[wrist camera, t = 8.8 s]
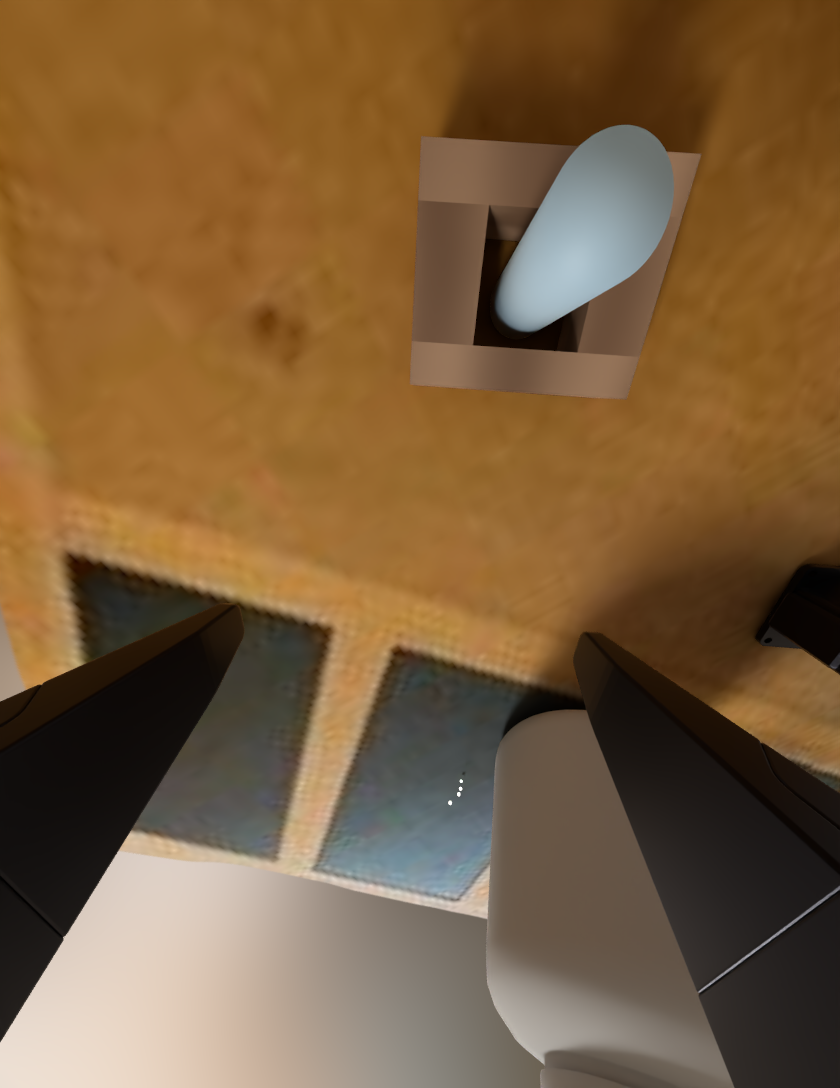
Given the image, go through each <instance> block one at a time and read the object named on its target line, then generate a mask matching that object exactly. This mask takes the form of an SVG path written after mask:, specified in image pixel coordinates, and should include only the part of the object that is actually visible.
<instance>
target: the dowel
mask: <svg viewBox="0 0 840 1088" xmlns="http://www.w3.org/2000/svg"><path fill="white" fill-rule="evenodd" d="M673 197H674V178H673V171H672V165H671V162H670V159H669V156H668V154H667V152H666V150H665V148H664V146H663V145H662V144H661V142H660V141H659V140H658V139H657V138H656V137H655V136H654V135H653V134H652V133H650V132H649V131H647V130H645V129H643V128H640V127H638V126H633V125H617V126H613V127H609V128H606V129H604V130H601V131H599V132H598V133H596V134H594V135H592V136H591V137H590V138H588V139H587V140H586V141H584V142H583V143H582V144H581V145H580V146H579V147H578V148H577V149H576V150H575V151H574V152H573V153H572V155H571V156H570V157H569V158H568V160H567V161H566V163H565V164H564V166H563V167H562V169H561V170H560V172H559V174H558V176H557V177H556V179H555V181H554V183H553V185H552V186H551V188H550V190H549V192H548V193H547V195H546V197H545V199H544V200H543V202H542V204H541V206H540V207H539V209H538V211H537V213H536V214H535V216H534V218H533V220H532V221H531V223H530V225H529V227H528V228H527V230H526V232H525V234H524V235H523V237H522V239H521V241H520V242H519V244H518V246H517V248H516V249H515V251H514V253H513V255H512V256H511V258H510V260H509V262H508V264H507V265H506V267H505V269H504V271H503V272H502V274H501V276H500V278H499V279H498V281H497V283H496V285H495V286H494V289H493V291H492V294H491V298H490V316H491V320H492V322H493V324H494V326H495V328H496V329H497V330H498V331H499V332H500V333H501V334H502V335H503V336H505V337H507V338H511V339H522V338H525V337H528V336H530V335H532V334H533V333H535V332H537V331H539V330H540V329H542V328H544V327H545V326H547V325H549V324H551V323H552V322H554V321H556V320H557V319H559V318H561V317H562V316H564V315H566V314H568V313H569V312H571V311H573V310H574V309H576V308H578V307H580V306H581V305H583V304H585V303H586V302H588V301H590V300H592V299H593V298H595V297H597V296H598V295H600V294H602V293H603V292H605V291H607V290H609V289H610V288H612V287H614V286H615V285H617V284H619V283H621V282H622V281H624V280H625V279H627V278H629V277H630V276H631V275H632V274H634V273H635V272H636V271H637V270H638V269H639V268H640V267H641V266H642V265H643V264H644V263H645V262H646V261H647V260H648V258H649V257H650V256H651V254H652V253H653V252H654V250H655V249H656V247H657V245H658V243H659V242H660V240H661V238H662V236H663V234H664V231H665V229H666V226H667V223H668V221H669V217H670V213H671V209H672V204H673Z"/></svg>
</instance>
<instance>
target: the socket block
mask: <svg viewBox="0 0 840 1088" xmlns="http://www.w3.org/2000/svg"><path fill="white" fill-rule="evenodd" d="M578 147H579V146H567V145H551V144H535V143H519V142H503V141H487V140H471V139H455V138H439V137H423V136H421V153H420V175H419V197H418V219H417V240H416V262H415V284H414V306H413V327H412V349H411V371H410V384H412V385H419V386H433V387H447V388H461V389H475V390H489V391H503V392H517V393H531V394H546V395H560V396H574V397H588V398H605V399H627V396H628V393H629V390H630V386H631V383H632V380H633V376H634V373H635V370H636V367H637V363H638V360H639V357H640V354H641V350H642V347H643V344H644V340H645V337H646V334H647V331H648V327H649V324H650V321H651V318H652V314H653V311H654V308H655V304H656V301H657V298H658V295H659V291H660V288H661V285H662V282H663V278H664V275H665V272H666V269H667V265H668V262H669V259H670V255H671V252H672V249H673V246H674V242H675V239H676V236H677V233H678V229H679V226H680V223H681V219H682V216H683V213H684V210H685V206H686V203H687V200H688V197H689V193H690V190H691V187H692V184H693V180H694V177H695V174H696V170H697V167H698V164H699V161H700V157H701V154H695V153H679V152H667V154H668V156H669V159H670V162H671V165H672V171H673V178H674V197H673V204H672V209H671V213H670V217H669V221H668V223H667V226H666V229H665V231H664V234H663V236H662V238H661V240H660V242H659V243H658V245H657V247H656V249H655V250H654V252H653V253H652V254H651V256H650V257H649V258H648V260H647V261H646V262H645V263H644V264H643V265H642V266H641V267H640V268H639V269H638V270H637V271H636V272H635V273H634V274H632V275H631V276H630V277H629V278H627V279H625V280H624V281H622V282H621V283H619V284H617V285H615V286H614V287H612V288H610V289H609V290H607V291H605V292H603V293H602V294H600V295H598V296H597V297H595V298H593V299H592V300H590V301H588V302H586V303H585V304H583V305H581V306H580V307H578V308H576V309H574V310H573V311H571V312H569V313H568V314H566V315H564V318H563V323H562V328H561V332H560V337H559V342H558V347H557V351H546V350H532V349H517V348H503V347H489V346H474V345H473V341H474V332H475V323H476V315H477V306H478V297H479V289H480V280H481V271H482V262H483V254H484V245H485V239H495V240H511V241H521V239H522V237H523V235H524V234H525V232H526V230H527V228H528V227H529V225H530V223H531V221H532V220H533V218H534V216H535V214H536V213H537V211H538V209H539V207H540V206H541V204H542V202H543V200H544V199H545V197H546V195H547V193H548V192H549V190H550V188H551V186H552V185H553V183H554V181H555V179H556V177H557V176H558V174H559V172H560V170H561V169H562V167H563V166H564V164H565V163H566V161H567V160H568V158H569V157H570V156H571V155H572V153H573V152H574V151H575V150H576V149H577V148H578Z"/></svg>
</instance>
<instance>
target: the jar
mask: <svg viewBox="0 0 840 1088" xmlns="http://www.w3.org/2000/svg"><path fill="white" fill-rule="evenodd" d="M462 782H463V781H462V780H460V783H462ZM459 790H460V791H461V790H462V787H459ZM457 795H458V796H460V793H459V792H458V793H457ZM451 804H452V802H451V801H449V805H451ZM486 964H487V984H488V987H489V990H490V993H491V996H492V999H493V1002H494V1006H495V1007H496V1009H497V1011H498V1013H499V1014H500V1016H501V1017H502V1019H503V1020H504V1022H505V1023H506V1025H507V1027H508V1028H509V1030H510V1031H511V1033H512V1034H513V1036H514V1037H515V1039H516V1040H517V1041H518V1042H519V1043H520V1044H521V1045H522V1046H523V1047H524V1048H525V1049H526V1050H527V1051H528V1052H530V1053H531V1054H532V1055H533V1056H534V1057H536V1058H537V1059H538V1060H539V1061H540V1062H542V1063H543V1064H544V1065H545V1069H543V1070H541V1073H540V1077H541V1088H734V1086H733V1083H732V1081H731V1078H730V1076H729V1073H728V1071H727V1068H726V1066H725V1063H724V1061H723V1058H722V1056H721V1053H720V1051H719V1048H718V1045H717V1043H716V1040H715V1038H714V1035H713V1033H712V1030H711V1028H710V1025H709V1023H708V1020H707V1018H706V1015H705V1013H704V1010H703V1008H702V1005H701V1003H700V1000H699V997H698V996H699V993H698V992H697V991H696V989H695V986H694V984H693V981H692V979H691V976H690V974H689V971H688V969H687V966H686V964H685V961H684V959H683V956H682V954H681V951H680V949H679V946H678V943H677V941H676V938H675V936H674V933H673V931H672V928H671V926H670V923H669V921H668V918H667V916H666V913H665V911H664V908H663V906H662V903H661V901H660V898H659V895H658V893H657V890H656V888H655V885H654V883H653V880H652V878H651V875H650V873H649V870H648V868H647V865H646V863H645V860H644V858H643V855H642V853H641V850H640V847H639V845H638V842H637V840H636V837H635V835H634V832H633V830H632V827H631V825H630V822H629V820H628V817H627V815H626V812H625V810H624V807H623V804H622V802H621V799H620V797H619V794H618V792H617V789H616V787H615V784H614V782H613V779H612V777H611V774H610V772H609V769H608V767H607V764H606V762H605V759H604V756H603V754H602V751H601V749H600V746H599V744H598V741H597V739H596V736H595V734H594V731H593V728H592V726H591V723H590V720H589V717H588V714H587V710H557V711H548V712H544V713H541V714H537V715H533V716H531V717H529V718H527V719H525V720H522V721H521V722H519V723H518V724H517V725H515V726H514V727H513V728H511V729H510V731H509V732H508V733H507V734H506V735H505V736H504V738H503V739H502V740H501V742H500V744H499V747H498V750H497V755H496V761H495V779H494V799H493V820H492V840H491V860H490V881H489V901H488V922H487V942H486Z"/></svg>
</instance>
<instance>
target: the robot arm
mask: <svg viewBox="0 0 840 1088" xmlns="http://www.w3.org/2000/svg"><path fill="white" fill-rule="evenodd" d="M243 636H244V625H243V620H242V615H241V610H240V607H239V606H238V605H236V604H227V603H221V604H218V605H216V606H214V607H212V608H209V609H207V610H205V611H203V612H200V613H198V614H196V615H194V616H191V617H189V618H187V619H185V620H182V621H180V622H178V623H176V624H173V625H171V626H169V627H167V628H165V629H162V630H160V631H158V632H156V633H153V634H151V635H149V636H147V637H144V638H142V639H140V640H138V641H135V642H133V643H131V644H129V645H126V646H124V647H122V648H120V649H117V650H115V651H113V652H111V653H108V654H106V655H104V656H102V657H100V658H97V659H95V660H93V661H91V662H88V663H86V664H84V665H82V666H79V667H77V668H75V669H73V670H70V671H68V672H66V673H64V674H61V675H59V676H57V677H55V678H52V679H50V680H48V681H46V682H44V683H43V684H42V685H36V686H34V687H32V688H30V689H28V690H25V691H23V692H21V693H19V694H17V695H14V696H12V697H10V698H7V699H5V700H3V701H1V702H0V1042H1V1040H2V1039H3V1037H4V1036H5V1034H6V1032H7V1031H8V1029H9V1027H10V1026H11V1024H12V1023H13V1021H14V1019H15V1018H16V1016H17V1015H18V1013H19V1011H20V1010H21V1008H22V1006H23V1005H24V1003H25V1002H26V1000H27V998H28V997H29V995H30V993H31V992H32V990H33V989H34V987H35V985H36V984H37V982H38V981H39V979H40V977H41V976H42V974H43V972H44V971H45V969H46V968H47V966H48V964H49V963H50V961H51V960H52V958H53V956H54V955H55V953H56V951H57V950H58V948H59V947H60V945H61V943H62V942H63V937H64V936H66V934H67V933H68V931H69V930H70V928H71V926H72V925H73V923H74V922H75V920H76V919H77V917H78V915H79V914H80V912H81V910H82V909H83V907H84V905H85V904H86V902H87V901H88V899H89V897H90V896H91V894H92V893H93V891H94V889H95V888H96V886H97V885H98V883H99V881H100V880H101V878H102V876H103V875H104V873H105V871H106V870H107V868H108V867H109V865H110V864H111V862H112V860H113V859H114V857H115V855H116V854H117V852H118V851H119V849H120V847H121V846H122V844H123V843H124V841H125V839H126V838H127V836H128V834H129V833H130V831H131V830H132V828H133V826H134V825H135V823H136V821H137V820H138V818H139V817H140V815H141V813H142V812H143V810H144V809H145V807H146V805H147V804H148V802H149V800H150V799H151V797H152V796H153V794H154V792H155V791H156V789H157V788H158V786H159V784H160V783H161V781H162V779H163V778H164V776H165V775H166V773H167V771H168V770H169V768H170V767H171V765H172V763H173V762H174V760H175V758H176V757H177V755H178V754H179V752H180V750H181V749H182V747H183V745H184V744H185V742H186V741H187V739H188V737H189V736H190V734H191V733H192V731H193V729H194V728H195V726H196V724H197V723H198V721H199V720H200V718H201V716H202V715H203V713H204V712H205V710H206V708H207V707H208V705H209V703H210V702H211V700H212V698H213V697H214V695H215V693H216V692H217V690H218V688H219V686H220V684H221V682H222V680H223V678H224V676H225V674H226V672H227V670H228V668H229V666H230V664H231V662H232V660H233V658H234V656H235V653H236V651H237V649H238V647H239V645H240V643H241V641H242V639H243ZM755 639H756V641H757V642H759V643H760V644H761V645H763V646H773V647H786V648H799V649H803V650H804V651H806V652H807V653H808V654H810V655H811V656H813V657H814V658H816V659H817V660H818V661H820V662H821V663H823V664H824V665H826V666H827V667H828V668H831V669H832V670H834V671H835V672H837V673H838V674H839V675H840V566H830V565H816V564H807V565H804V566H803V567H801V568H800V569H799V570H798V572H797V573H796V575H795V576H794V578H793V580H792V581H791V583H790V584H789V586H788V587H787V589H786V590H785V592H784V594H783V595H782V597H781V598H780V600H779V601H778V603H777V604H776V606H775V608H774V609H773V611H772V612H771V614H770V615H769V617H768V618H767V620H766V622H765V623H764V625H763V626H762V628H761V629H760V631H759V632H758V634H757V636H756V638H755ZM573 664H574V668H575V671H576V675H577V678H578V682H579V685H580V689H581V693H582V696H583V700H584V703H585V707H586V710H587V714H588V717H589V720H590V723H591V726H592V728H593V731H594V734H595V736H596V739H597V741H598V744H599V746H600V749H601V751H602V754H603V756H604V759H605V762H606V764H607V767H608V769H609V772H610V774H611V777H612V779H613V782H614V784H615V787H616V789H617V792H618V794H619V797H620V799H621V802H622V804H623V807H624V810H625V812H626V815H627V817H628V820H629V822H630V825H631V827H632V830H633V832H634V835H635V837H636V840H637V842H638V845H639V847H640V850H641V853H642V855H643V858H644V860H645V863H646V865H647V868H648V870H649V873H650V875H651V878H652V880H653V883H654V885H655V888H656V890H657V893H658V895H659V898H660V901H661V903H662V906H663V908H664V911H665V913H666V916H667V918H668V921H669V923H670V926H671V928H672V931H673V933H674V936H675V938H676V941H677V943H678V946H679V949H680V951H681V954H682V956H683V959H684V961H685V964H686V966H687V969H688V971H689V974H690V976H691V979H692V981H693V984H694V986H695V989H696V991H697V992H698V993H699V996H698V997H699V1000H700V1003H701V1005H702V1008H703V1010H704V1013H705V1015H706V1018H707V1020H708V1023H709V1025H710V1028H711V1030H712V1033H713V1035H714V1038H715V1040H716V1043H717V1045H718V1048H719V1051H720V1053H721V1056H722V1058H723V1061H724V1063H725V1066H726V1068H727V1071H728V1073H729V1076H730V1078H731V1081H732V1083H733V1086H734V1088H840V793H839V792H837V791H835V790H834V789H832V788H831V787H829V786H828V785H826V784H824V783H823V782H821V781H820V780H818V779H817V778H815V777H814V776H812V775H811V774H809V773H808V772H806V771H805V770H803V769H802V768H800V767H799V766H797V765H796V764H794V763H793V762H791V761H790V760H788V759H787V758H785V757H784V756H782V755H781V754H779V753H778V752H776V751H775V750H773V749H772V748H770V747H769V746H767V745H766V744H764V743H760V741H759V740H758V739H757V738H755V737H754V736H752V735H751V734H749V733H748V732H746V731H745V730H744V729H742V728H741V727H739V726H738V725H736V724H735V723H733V722H732V721H730V720H729V719H727V718H726V717H724V716H723V715H721V714H720V713H718V712H717V711H715V710H714V709H712V708H711V707H709V706H708V705H706V704H705V703H703V702H702V701H700V700H699V699H698V698H696V697H695V696H693V695H692V694H690V693H689V692H687V691H686V690H684V689H683V688H681V687H680V686H678V685H677V684H675V683H674V682H672V681H671V680H669V679H668V678H666V677H665V676H663V675H662V674H660V673H659V672H657V671H656V670H654V669H653V668H652V667H650V666H649V665H647V664H646V663H644V662H643V661H641V660H640V659H638V658H637V657H635V656H634V655H632V654H631V653H629V652H628V651H626V650H625V649H623V648H622V647H620V646H619V645H617V644H616V643H614V642H613V641H611V640H610V639H609V638H607V637H606V636H604V635H603V634H601V633H598V632H583V633H582V634H581V635H580V638H579V641H578V644H577V647H576V649H575V652H574V656H573Z"/></svg>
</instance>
